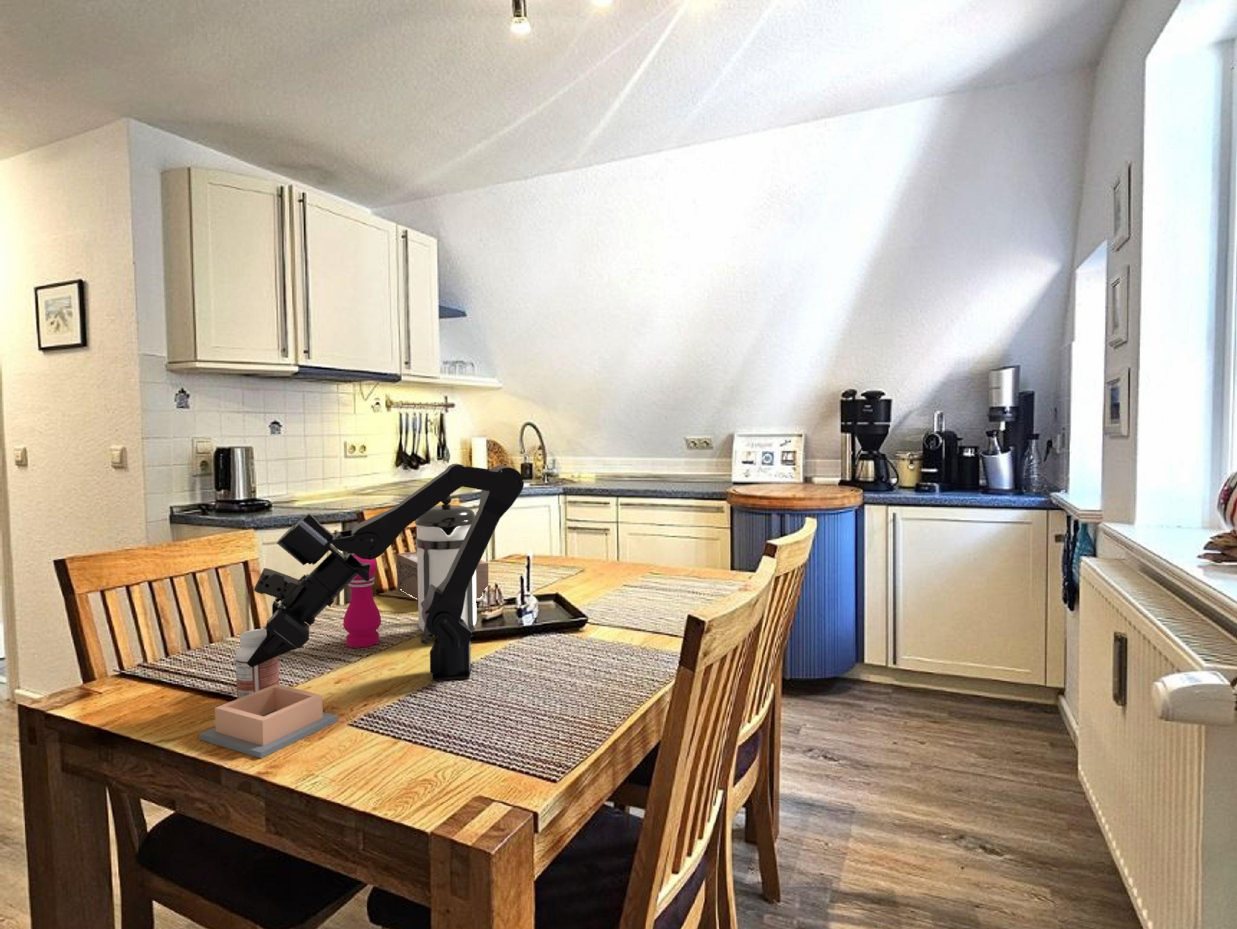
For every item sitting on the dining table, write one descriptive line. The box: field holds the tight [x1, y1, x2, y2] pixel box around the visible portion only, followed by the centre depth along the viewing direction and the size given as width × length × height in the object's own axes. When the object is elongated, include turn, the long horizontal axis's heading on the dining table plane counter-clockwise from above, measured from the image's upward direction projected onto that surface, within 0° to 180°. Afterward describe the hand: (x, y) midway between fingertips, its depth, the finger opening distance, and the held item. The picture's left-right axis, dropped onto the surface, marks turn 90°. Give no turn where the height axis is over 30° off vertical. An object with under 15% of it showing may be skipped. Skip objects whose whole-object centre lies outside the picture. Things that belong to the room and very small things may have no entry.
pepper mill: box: [342, 554, 382, 649], centre depth 142 cm, size 7×7×20 cm
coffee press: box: [414, 495, 477, 645], centre depth 148 cm, size 17×16×30 cm
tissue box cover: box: [396, 551, 489, 599], centre depth 182 cm, size 26×14×10 cm, turn 36°
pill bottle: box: [234, 628, 280, 699], centre depth 113 cm, size 6×6×11 cm
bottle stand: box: [198, 684, 339, 759], centre depth 102 cm, size 13×13×4 cm
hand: (252, 656), depth 112 cm, fingers open, 9 cm apart
